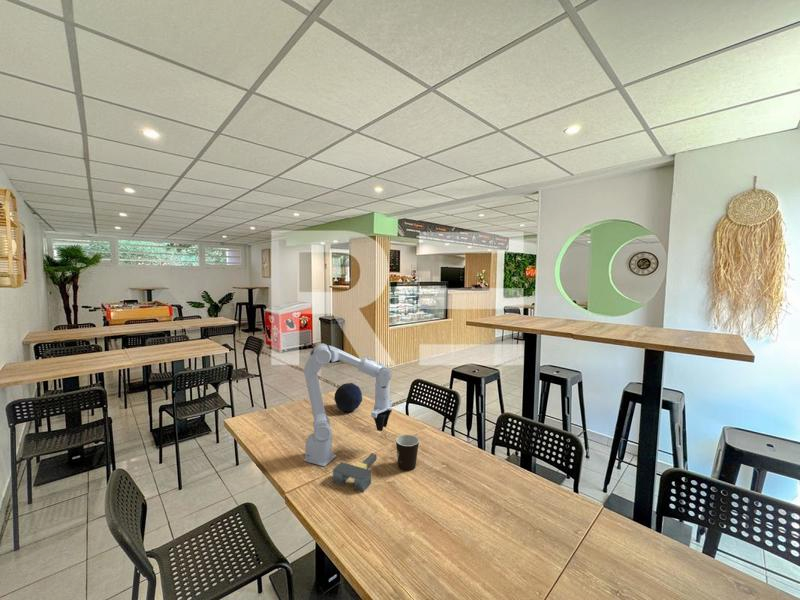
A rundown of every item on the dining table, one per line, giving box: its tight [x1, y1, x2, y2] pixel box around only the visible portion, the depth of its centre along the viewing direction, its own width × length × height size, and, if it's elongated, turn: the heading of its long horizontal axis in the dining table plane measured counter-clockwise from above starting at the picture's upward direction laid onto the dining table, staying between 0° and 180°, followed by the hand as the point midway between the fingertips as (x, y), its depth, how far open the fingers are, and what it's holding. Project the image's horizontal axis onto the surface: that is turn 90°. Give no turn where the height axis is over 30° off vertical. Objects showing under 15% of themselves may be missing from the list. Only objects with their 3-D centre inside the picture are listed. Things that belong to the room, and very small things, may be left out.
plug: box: [355, 452, 378, 470], centre depth 119 cm, size 12×3×3 cm, turn 157°
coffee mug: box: [395, 434, 420, 472], centre depth 121 cm, size 12×9×10 cm
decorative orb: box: [334, 382, 363, 413], centre depth 170 cm, size 14×15×15 cm
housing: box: [332, 461, 372, 493], centre depth 110 cm, size 12×5×4 cm, turn 67°
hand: (381, 428), depth 130 cm, fingers open, 3 cm apart
